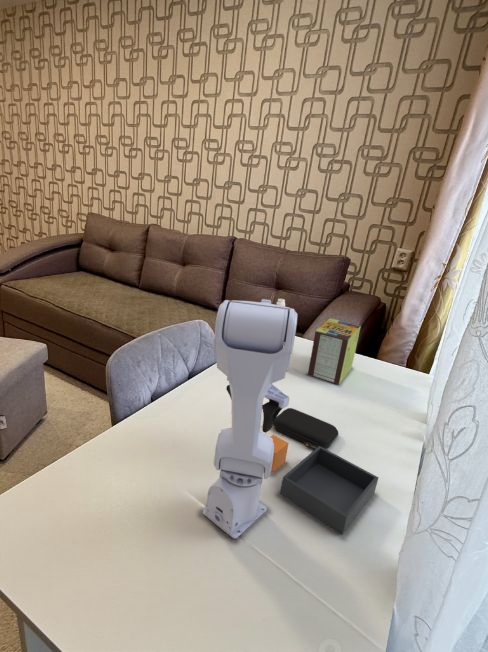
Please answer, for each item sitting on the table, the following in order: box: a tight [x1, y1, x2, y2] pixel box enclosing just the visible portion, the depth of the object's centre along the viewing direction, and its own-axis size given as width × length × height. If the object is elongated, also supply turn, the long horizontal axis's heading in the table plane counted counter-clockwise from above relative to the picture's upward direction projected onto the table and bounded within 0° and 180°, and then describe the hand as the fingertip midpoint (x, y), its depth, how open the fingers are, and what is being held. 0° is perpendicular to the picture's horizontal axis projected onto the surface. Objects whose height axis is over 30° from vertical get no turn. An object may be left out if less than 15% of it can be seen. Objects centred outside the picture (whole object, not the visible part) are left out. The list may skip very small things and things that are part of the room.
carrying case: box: [272, 407, 340, 450], centre depth 96 cm, size 11×3×15 cm
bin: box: [279, 446, 379, 535], centre depth 78 cm, size 14×13×4 cm
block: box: [264, 434, 289, 474], centre depth 85 cm, size 5×4×6 cm
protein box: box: [307, 318, 362, 386], centre depth 127 cm, size 10×15×16 cm
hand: (252, 422), depth 83 cm, fingers open, 7 cm apart
